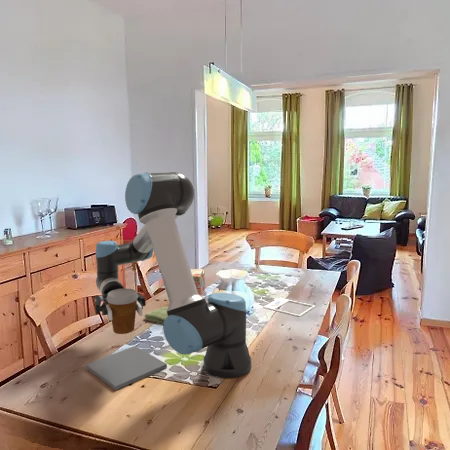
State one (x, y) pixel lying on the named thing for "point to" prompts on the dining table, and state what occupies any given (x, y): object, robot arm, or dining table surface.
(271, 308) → the photo frame
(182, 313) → the robot arm
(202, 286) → the printed cardboard box
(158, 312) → the washcloth
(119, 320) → the disposable coffee cup
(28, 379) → the dining table surface
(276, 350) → the dining table surface
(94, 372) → the slate tile
